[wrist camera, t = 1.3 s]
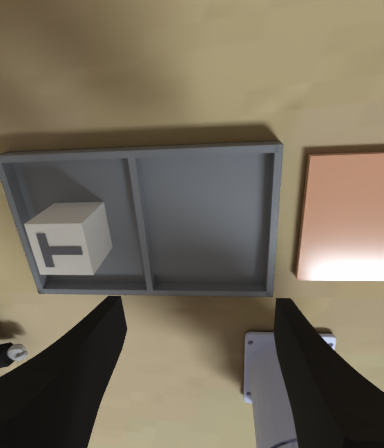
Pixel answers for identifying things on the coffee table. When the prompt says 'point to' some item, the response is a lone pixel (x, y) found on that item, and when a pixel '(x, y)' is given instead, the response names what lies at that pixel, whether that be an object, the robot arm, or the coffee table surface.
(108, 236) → the letter cube
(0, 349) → the robot toy
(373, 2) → the coffee table surface
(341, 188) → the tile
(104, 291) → the sorting tray
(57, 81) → the coffee table surface
